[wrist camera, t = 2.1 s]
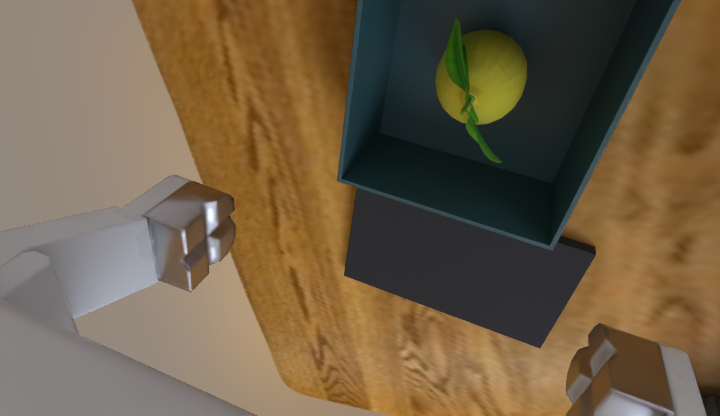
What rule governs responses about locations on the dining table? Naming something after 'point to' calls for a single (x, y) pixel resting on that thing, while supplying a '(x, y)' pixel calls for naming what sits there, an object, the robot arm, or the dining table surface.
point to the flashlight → (711, 405)
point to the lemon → (480, 79)
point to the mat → (463, 267)
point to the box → (506, 135)
